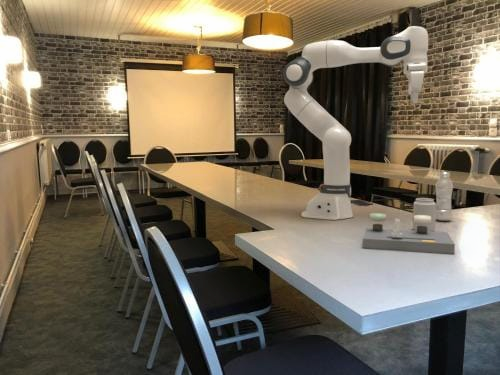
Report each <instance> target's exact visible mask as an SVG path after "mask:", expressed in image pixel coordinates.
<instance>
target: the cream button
mask: <svg viewBox="0 0 500 375" xmlns="http://www.w3.org/2000/svg"><path fill="white" fill-rule="evenodd" d="M414 222H416V223H431V216H427V215H415V216H414Z"/></svg>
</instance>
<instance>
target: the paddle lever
mask: <svg viewBox="0 0 500 375" xmlns="http://www.w3.org/2000/svg"><path fill="white" fill-rule="evenodd" d="M400 227H401V219H400V218H394V229H395V232H392V237H397V238H403V235H402V233H400V230H401V228H400Z"/></svg>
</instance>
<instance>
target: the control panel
mask: <svg viewBox="0 0 500 375" xmlns="http://www.w3.org/2000/svg"><path fill="white" fill-rule="evenodd" d="M383 226H384V225H383V224H381V223H373V224H372V227H365V230H364V234H363V240H362V241H363V242H362V243H363V244H362V245H363V246H362V247H363V249H371V250H372V249H373V250H388V251H403V252H418V253H432V254H433V253H434V254H450V255H455V246H456V244H455V243H454V240H453V239H452V237H451V236H450V234H449V233H448V231H435V230H434V231H427V227H426V226H417V231H415V230H414V229H412V230H410V229H400V233H402V235H403V238H397V237H392V232H395V228H394V229H393V228H391V229H390V228H383Z"/></svg>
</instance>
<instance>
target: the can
mask: <svg viewBox="0 0 500 375" xmlns="http://www.w3.org/2000/svg"><path fill="white" fill-rule="evenodd" d="M434 200H435V199H433V198H429V197H417V198H415V200H414V202H413V209H412V210H413V212H412V230H415V231H417V226H426V227H427V231H434V232H435V229H436V218H435V212H436V202H435V201H434ZM415 215H427V216H431V223H416V222H414V216H415Z"/></svg>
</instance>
